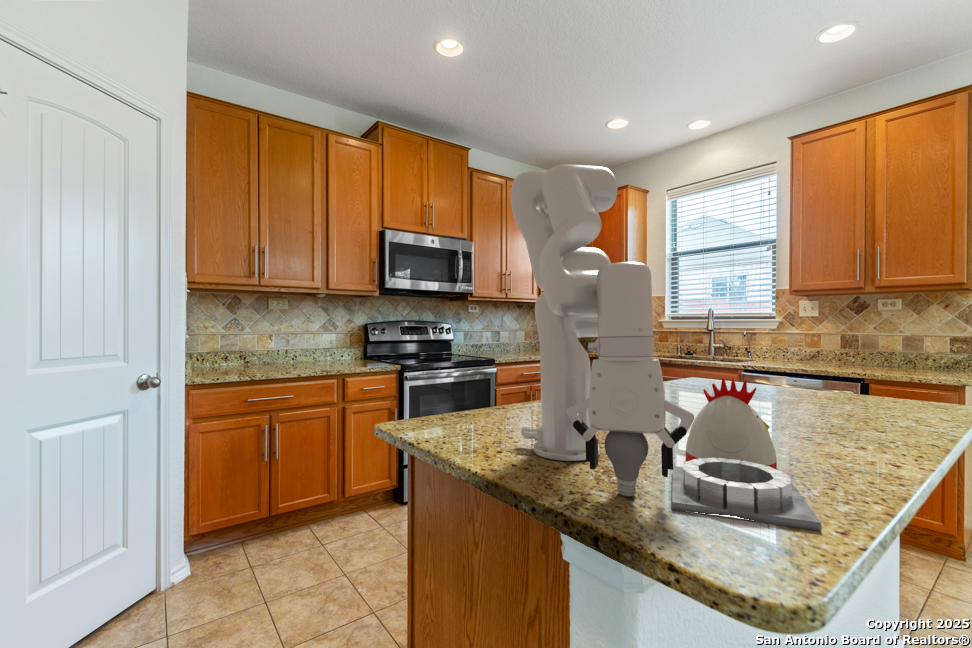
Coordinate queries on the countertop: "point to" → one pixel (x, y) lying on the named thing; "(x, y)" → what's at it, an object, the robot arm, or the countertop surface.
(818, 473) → the countertop surface
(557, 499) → the countertop surface
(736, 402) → the kitchen timer
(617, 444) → the light bulb
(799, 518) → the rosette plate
